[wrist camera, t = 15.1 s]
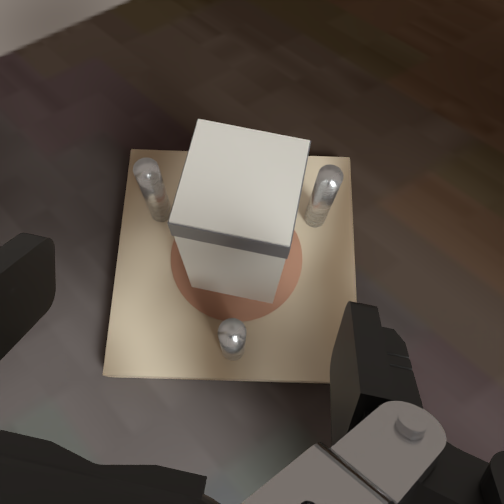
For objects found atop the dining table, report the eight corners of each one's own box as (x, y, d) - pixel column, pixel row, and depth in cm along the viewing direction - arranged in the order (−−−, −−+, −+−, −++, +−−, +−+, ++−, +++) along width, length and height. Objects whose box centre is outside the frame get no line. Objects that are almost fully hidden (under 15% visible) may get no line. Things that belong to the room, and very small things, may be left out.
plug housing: (288, 227, 27) (311, 139, 18) (273, 304, 25) (290, 247, 17) (210, 211, 27) (197, 117, 19) (190, 287, 26) (166, 222, 17)
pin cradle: (345, 167, 30) (371, 105, 24) (354, 384, 25) (389, 373, 20) (135, 159, 29) (109, 95, 24) (108, 376, 25) (69, 364, 19)
